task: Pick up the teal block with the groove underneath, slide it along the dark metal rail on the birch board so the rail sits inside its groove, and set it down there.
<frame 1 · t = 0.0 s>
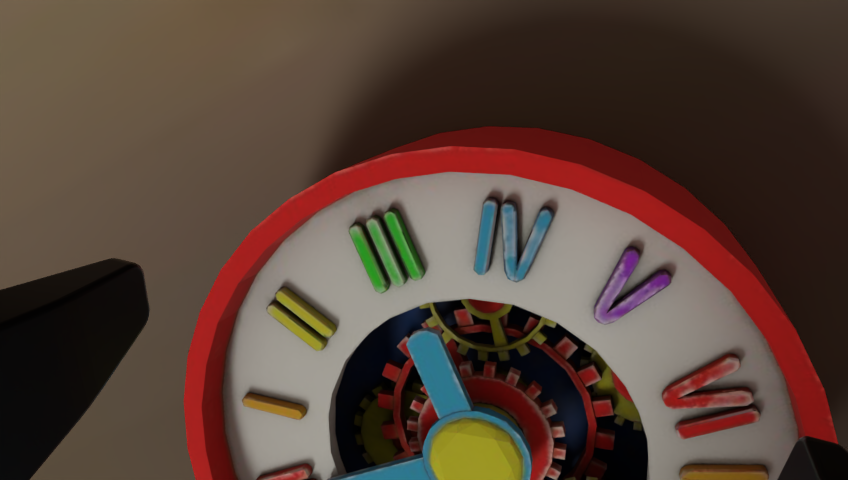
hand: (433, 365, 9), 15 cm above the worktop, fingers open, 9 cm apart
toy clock: (503, 386, 27), on the worktop
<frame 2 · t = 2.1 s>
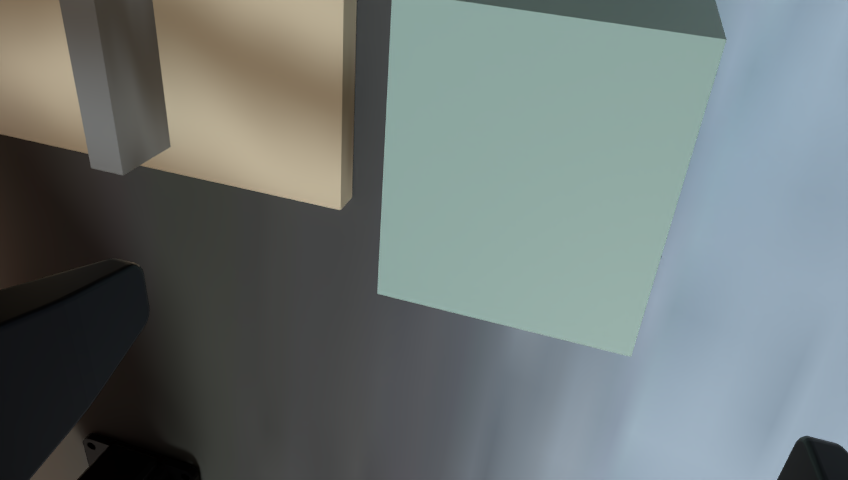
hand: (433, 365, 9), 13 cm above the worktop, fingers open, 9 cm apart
cleat board: (159, 21, 23), on the worktop
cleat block: (565, 89, 20), on the worktop
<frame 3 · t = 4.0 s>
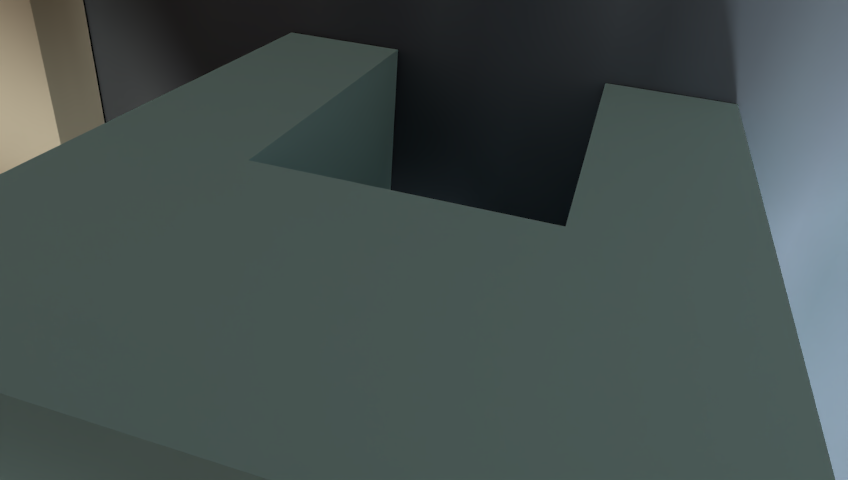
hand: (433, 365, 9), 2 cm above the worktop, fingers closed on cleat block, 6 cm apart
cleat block: (469, 283, 11), on the worktop, touching gripper
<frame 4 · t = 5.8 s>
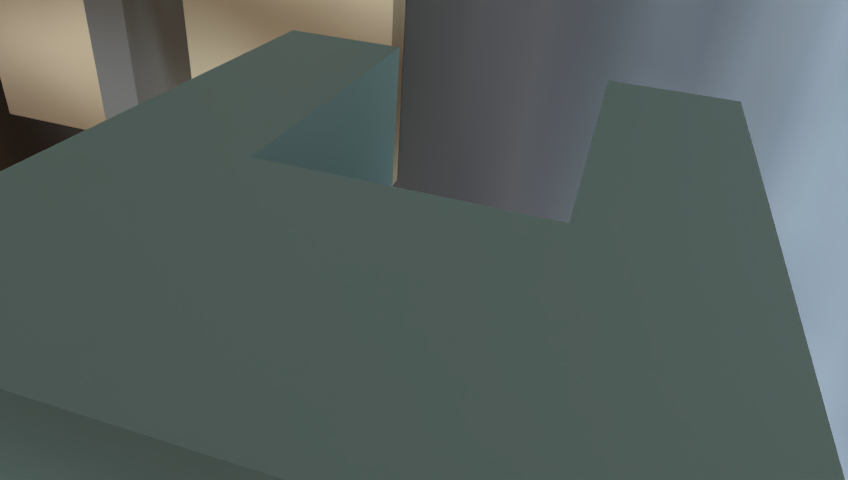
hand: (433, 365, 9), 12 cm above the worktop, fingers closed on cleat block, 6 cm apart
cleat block: (471, 282, 11), point 10 cm above the worktop, touching gripper
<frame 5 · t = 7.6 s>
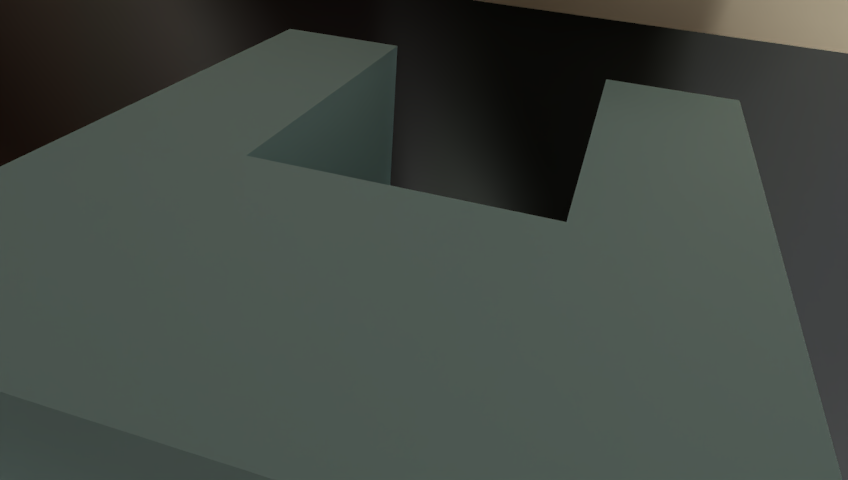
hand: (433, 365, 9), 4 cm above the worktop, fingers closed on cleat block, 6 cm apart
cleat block: (469, 281, 11), point 2 cm above the worktop, touching gripper
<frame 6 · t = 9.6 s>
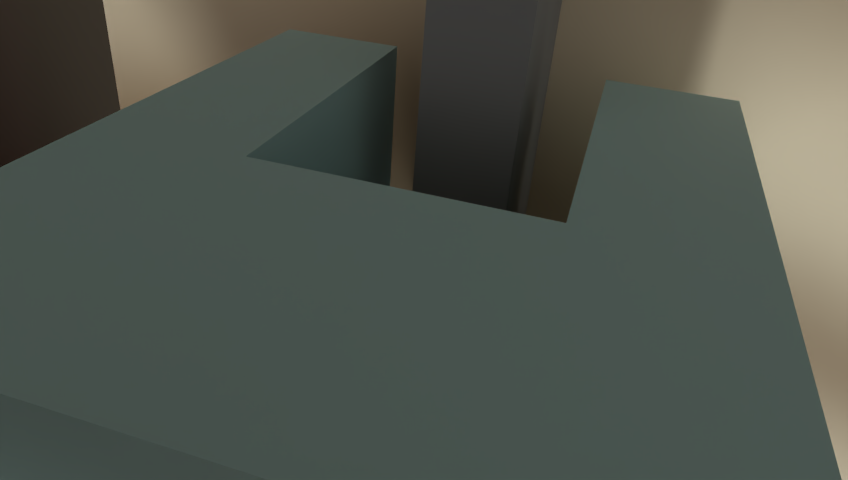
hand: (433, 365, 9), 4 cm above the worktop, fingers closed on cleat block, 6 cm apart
cleat board: (498, 208, 12), on the worktop
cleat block: (469, 282, 11), point 2 cm above the worktop, touching gripper
when the fingers open (3 cm above the worktop, at t = 11.3 s): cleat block stays where it is, resting on cleat board.
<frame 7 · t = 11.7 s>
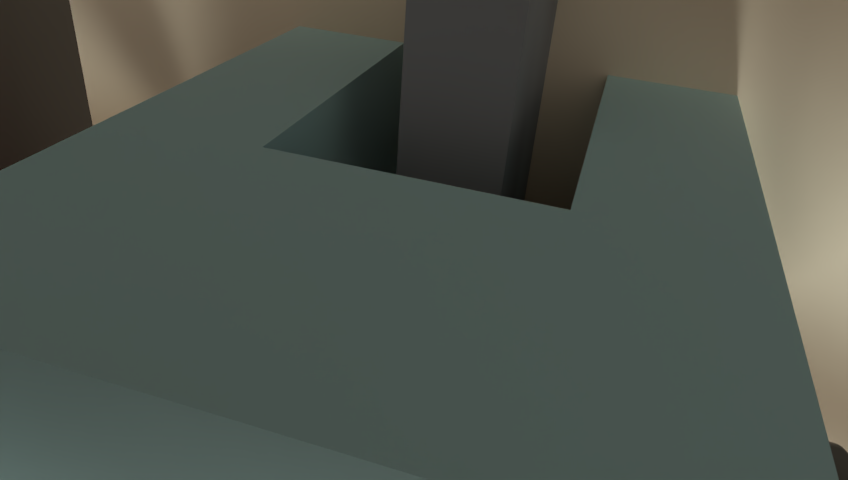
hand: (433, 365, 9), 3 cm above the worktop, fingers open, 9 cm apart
cleat board: (487, 244, 12), on the worktop
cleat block: (474, 273, 11), point 1 cm above the worktop, touching cleat board
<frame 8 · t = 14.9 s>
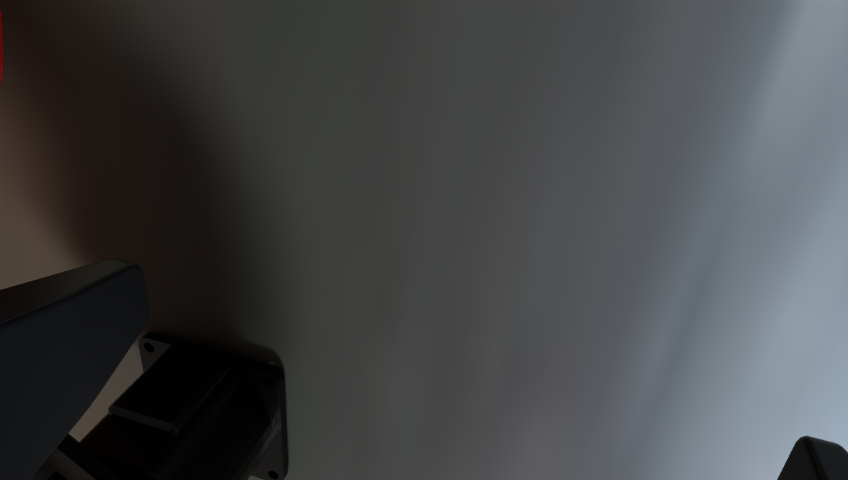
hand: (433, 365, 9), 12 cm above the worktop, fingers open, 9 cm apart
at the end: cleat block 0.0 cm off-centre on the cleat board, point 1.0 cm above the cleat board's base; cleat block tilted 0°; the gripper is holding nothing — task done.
